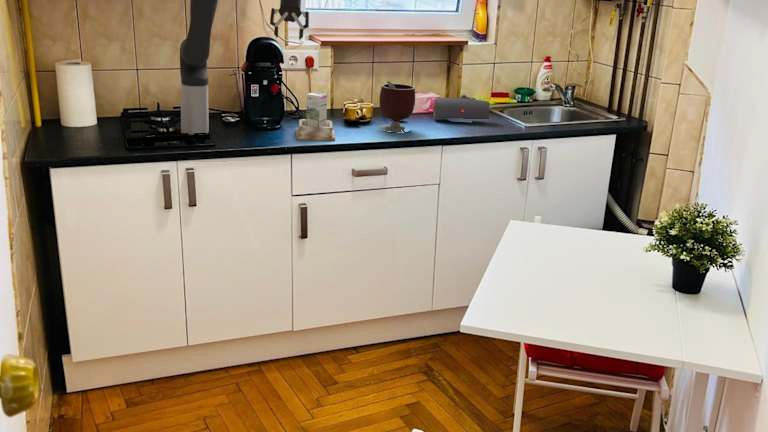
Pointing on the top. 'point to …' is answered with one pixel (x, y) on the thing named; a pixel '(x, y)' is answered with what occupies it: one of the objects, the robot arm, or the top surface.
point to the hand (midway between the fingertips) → (288, 38)
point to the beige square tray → (315, 131)
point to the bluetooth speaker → (461, 108)
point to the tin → (357, 101)
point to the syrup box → (316, 109)
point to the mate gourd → (396, 104)
